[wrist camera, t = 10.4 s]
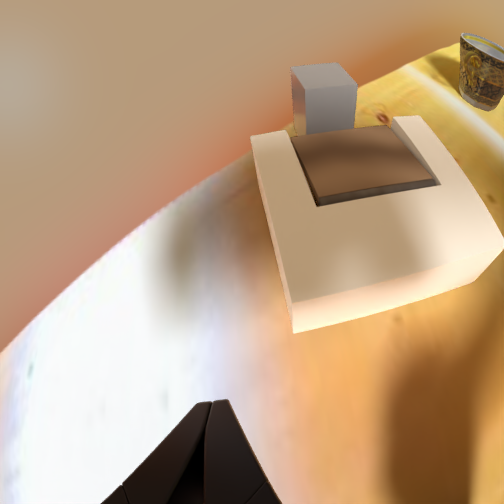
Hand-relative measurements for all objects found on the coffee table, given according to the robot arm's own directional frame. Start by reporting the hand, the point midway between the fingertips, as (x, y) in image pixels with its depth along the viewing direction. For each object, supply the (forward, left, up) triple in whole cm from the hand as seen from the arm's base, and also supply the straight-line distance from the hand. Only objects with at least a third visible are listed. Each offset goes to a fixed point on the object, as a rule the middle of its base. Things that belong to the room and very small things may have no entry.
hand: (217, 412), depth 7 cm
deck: (+13, -11, -14) cm, 22 cm away
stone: (+25, -11, -10) cm, 29 cm away
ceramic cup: (+32, -39, -14) cm, 52 cm away
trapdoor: (+16, -11, -9) cm, 21 cm away
